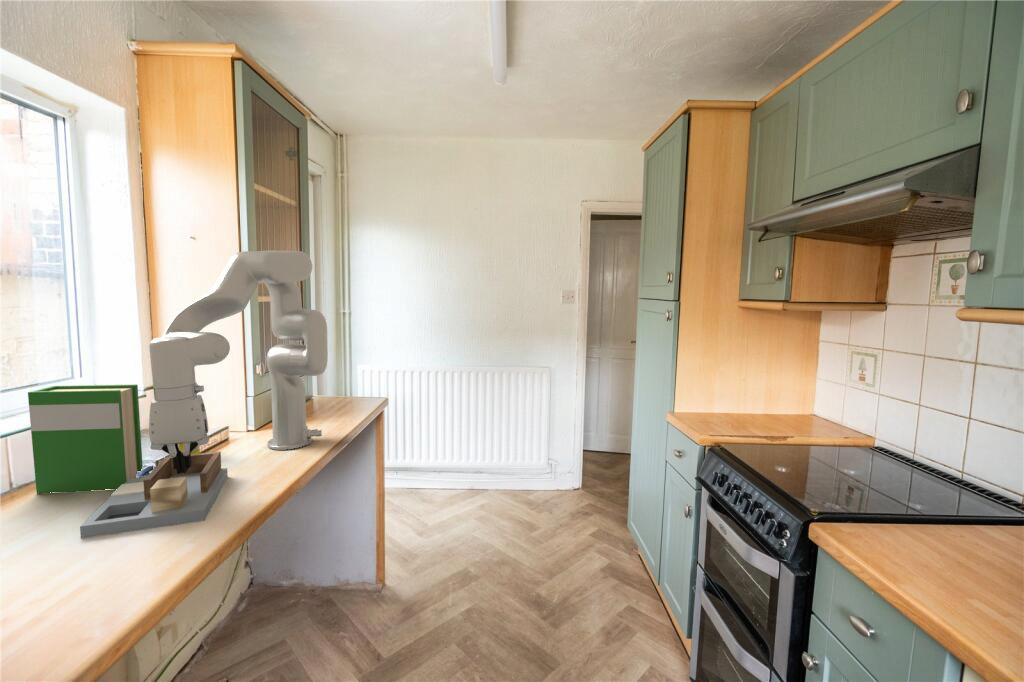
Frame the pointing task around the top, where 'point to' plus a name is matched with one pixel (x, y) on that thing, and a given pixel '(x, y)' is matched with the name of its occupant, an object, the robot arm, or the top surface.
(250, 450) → the top surface
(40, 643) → the top surface
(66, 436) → the hardback book
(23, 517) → the top surface
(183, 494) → the block
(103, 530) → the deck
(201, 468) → the brown wooden u-shaped frame
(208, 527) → the top surface
